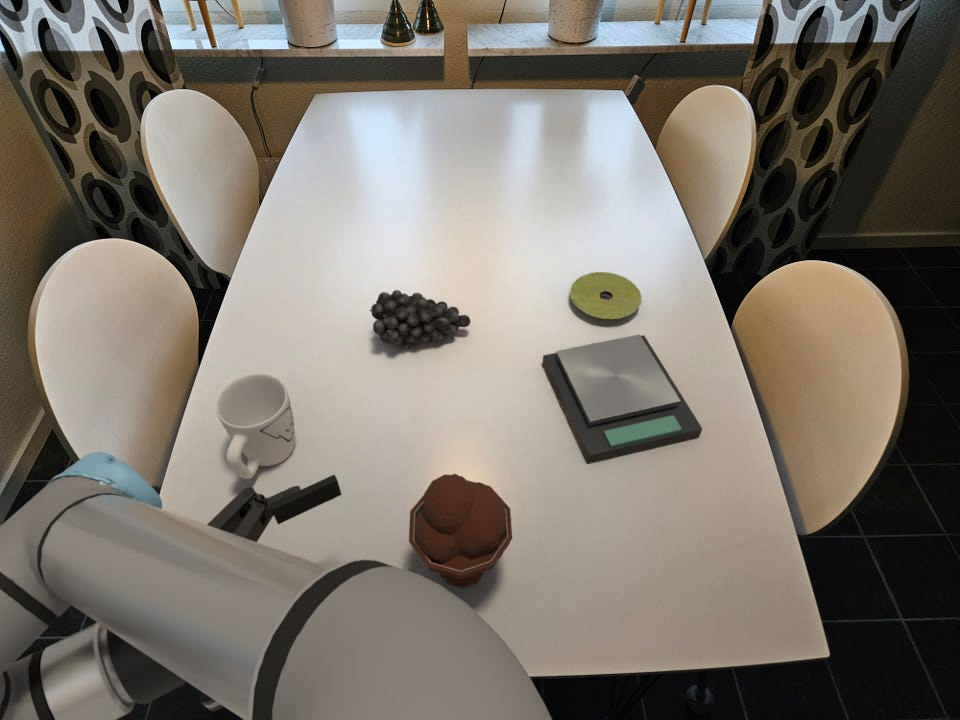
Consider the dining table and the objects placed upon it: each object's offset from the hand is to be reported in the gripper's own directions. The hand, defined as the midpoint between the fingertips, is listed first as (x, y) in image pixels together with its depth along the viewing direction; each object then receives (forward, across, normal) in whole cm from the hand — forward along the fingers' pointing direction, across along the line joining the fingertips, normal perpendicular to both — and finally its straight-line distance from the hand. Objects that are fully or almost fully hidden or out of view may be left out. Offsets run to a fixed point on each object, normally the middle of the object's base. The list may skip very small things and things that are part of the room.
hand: (366, 540), depth 59 cm
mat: (+51, -27, -16) cm, 60 cm away
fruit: (+22, -35, -16) cm, 44 cm away
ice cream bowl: (+10, 0, -16) cm, 19 cm away
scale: (+41, -10, -16) cm, 45 cm away
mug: (-5, -26, -16) cm, 31 cm away
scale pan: (+41, -12, -13) cm, 45 cm away
